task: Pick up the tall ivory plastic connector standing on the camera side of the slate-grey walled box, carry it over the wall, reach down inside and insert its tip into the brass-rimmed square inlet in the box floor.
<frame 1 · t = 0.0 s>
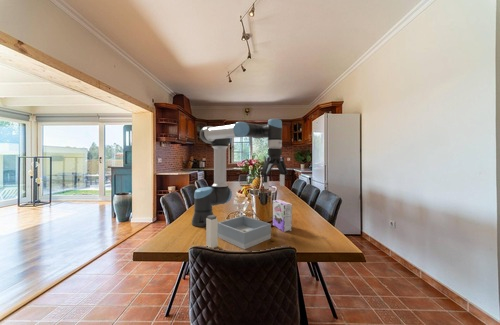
hand: (274, 187, 117), 28 cm above the table, fingers open, 13 cm apart
connector: (211, 246, 107), on the table
walled box: (243, 237, 118), on the table
candy box: (281, 228, 134), on the table
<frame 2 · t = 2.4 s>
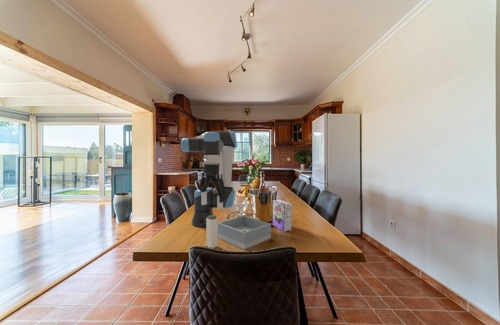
hand: (211, 206, 106), 20 cm above the table, fingers open, 13 cm apart
nothing on the table moved.
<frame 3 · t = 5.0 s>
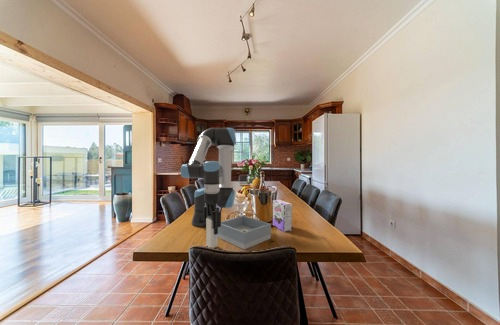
hand: (211, 239, 107), 4 cm above the table, fingers closed on connector, 4 cm apart
connector: (211, 246, 107), on the table, touching gripper
everything else where it was.
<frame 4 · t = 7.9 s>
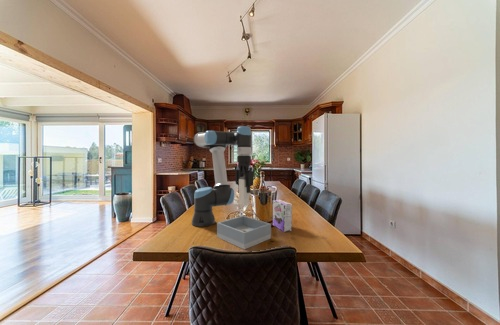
hand: (244, 197, 117), 22 cm above the table, fingers closed on connector, 4 cm apart
connector: (244, 204, 117), point 18 cm above the table, touching gripper
everything else where it was.
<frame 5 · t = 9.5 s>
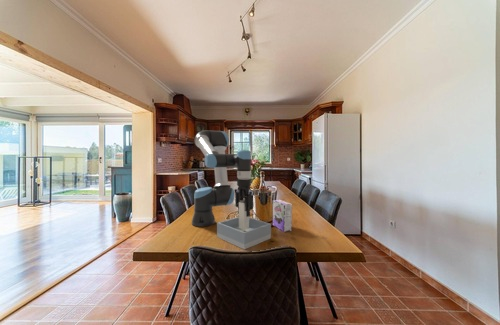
hand: (243, 221, 118), 9 cm above the table, fingers closed on connector, 4 cm apart
connector: (243, 227, 118), point 6 cm above the table, touching gripper
everything else where it was.
when the fingers open (5 cm above the table, at t = 10.9 s): connector drops 1 cm, resting in walled box.
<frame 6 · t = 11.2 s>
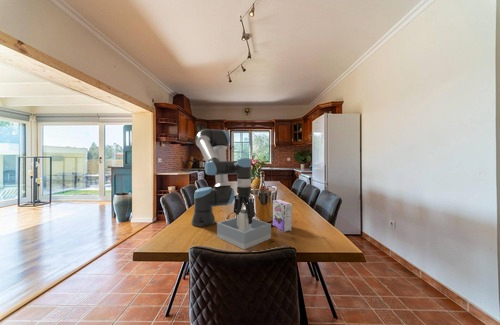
hand: (243, 227, 118), 6 cm above the table, fingers open, 7 cm apart
connector: (243, 237, 118), resting in walled box
everything else where it was.
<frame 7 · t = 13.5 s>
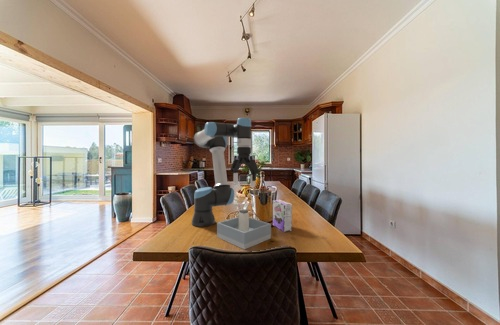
hand: (243, 185, 117), 29 cm above the table, fingers open, 13 cm apart
nothing on the table moved.
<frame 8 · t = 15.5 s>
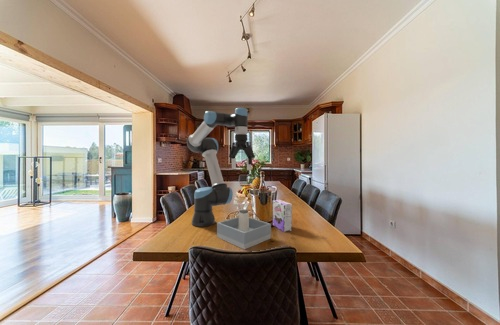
hand: (241, 169, 130), 37 cm above the table, fingers open, 13 cm apart
nothing on the table moved.
at the end: connector 0.1 cm off-centre on the walled box, point 0.0 cm above the walled box's base; connector tilted 0°; the gripper is holding nothing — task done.
